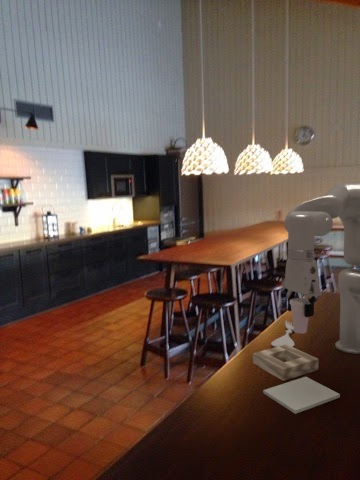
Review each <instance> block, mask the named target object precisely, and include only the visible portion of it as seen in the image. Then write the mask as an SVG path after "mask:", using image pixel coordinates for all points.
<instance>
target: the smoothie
mask: <svg viewBox="0 0 360 480" xmlns="http://www.w3.org/2000/svg"><path fill="white" fill-rule="evenodd" d="M300 295H301V297H297V298H293V299H290V304H291V311H290V312H291V316H292V326H293V327H294V331H293V332H294V333H295V334H306V333H307V331H308V325H309V324H308V323H309V318H310V317H305V316H304V308H305V304H306V300H305V297H304V294H300Z"/></svg>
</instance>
